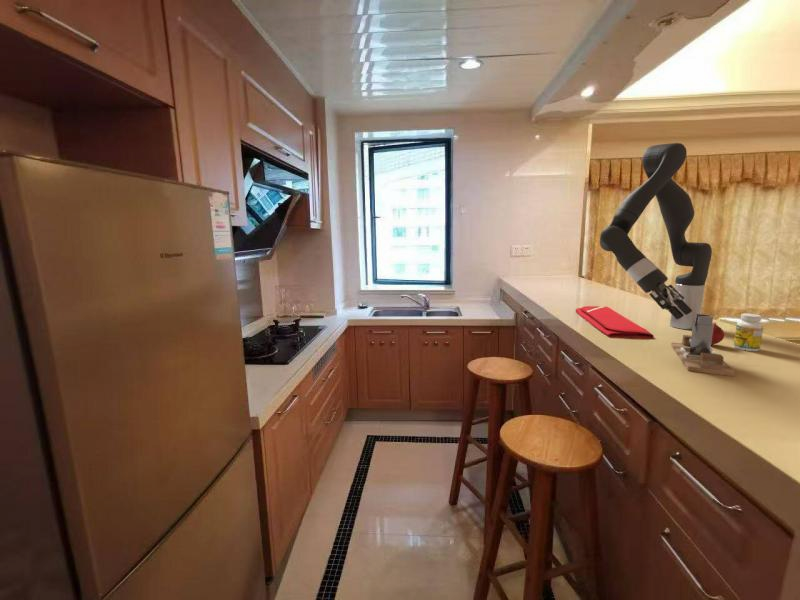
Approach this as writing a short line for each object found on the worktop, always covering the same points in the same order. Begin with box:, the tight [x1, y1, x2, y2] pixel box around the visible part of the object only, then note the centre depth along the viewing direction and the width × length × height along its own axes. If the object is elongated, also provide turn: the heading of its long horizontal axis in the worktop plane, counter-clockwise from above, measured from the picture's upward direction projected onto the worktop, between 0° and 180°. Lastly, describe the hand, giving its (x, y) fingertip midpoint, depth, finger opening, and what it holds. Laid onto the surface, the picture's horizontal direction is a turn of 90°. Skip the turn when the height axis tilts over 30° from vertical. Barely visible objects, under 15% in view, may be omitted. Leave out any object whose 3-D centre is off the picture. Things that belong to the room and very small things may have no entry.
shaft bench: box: [670, 334, 736, 377], centre depth 111 cm, size 24×10×5 cm, turn 153°
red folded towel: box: [575, 305, 655, 339], centre depth 153 cm, size 16×41×4 cm, turn 171°
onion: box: [711, 321, 725, 346], centre depth 123 cm, size 6×6×8 cm
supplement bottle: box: [733, 312, 764, 352], centre depth 119 cm, size 6×6×11 cm
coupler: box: [689, 313, 714, 356], centre depth 110 cm, size 5×5×12 cm
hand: (685, 315), depth 113 cm, fingers open, 8 cm apart
